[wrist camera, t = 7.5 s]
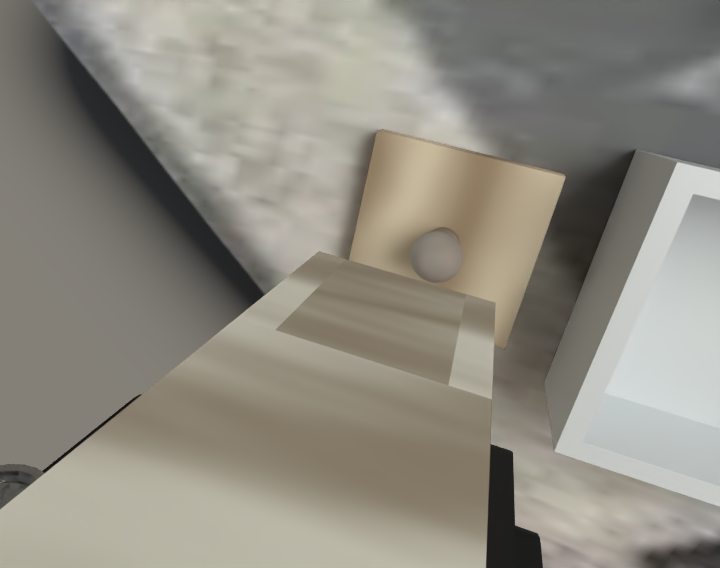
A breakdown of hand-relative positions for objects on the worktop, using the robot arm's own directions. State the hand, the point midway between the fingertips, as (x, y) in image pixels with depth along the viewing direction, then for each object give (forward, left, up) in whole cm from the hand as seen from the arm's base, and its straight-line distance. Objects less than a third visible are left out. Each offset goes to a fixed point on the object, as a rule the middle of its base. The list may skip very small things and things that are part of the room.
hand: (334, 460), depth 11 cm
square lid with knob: (0, 0, -22) cm, 22 cm away
